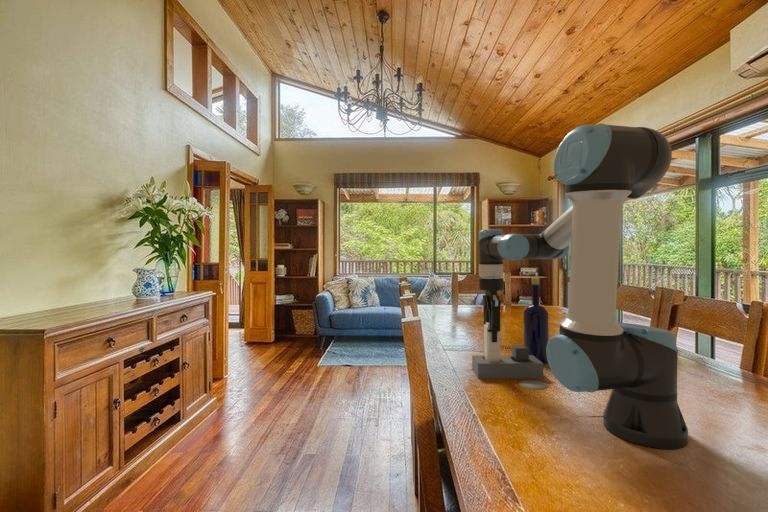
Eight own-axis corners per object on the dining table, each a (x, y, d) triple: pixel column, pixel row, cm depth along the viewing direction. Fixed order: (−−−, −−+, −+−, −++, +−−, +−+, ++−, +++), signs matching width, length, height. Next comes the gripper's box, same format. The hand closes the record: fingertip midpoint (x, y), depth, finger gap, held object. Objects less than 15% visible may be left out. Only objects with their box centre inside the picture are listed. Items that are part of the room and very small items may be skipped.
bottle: (554, 364, 128) (554, 278, 127) (528, 364, 128) (527, 278, 127) (543, 357, 137) (543, 276, 136) (519, 357, 137) (518, 277, 137)
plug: (487, 364, 116) (486, 324, 116) (484, 360, 120) (484, 322, 120) (500, 364, 116) (499, 324, 116) (496, 360, 120) (496, 321, 120)
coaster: (553, 391, 104) (553, 389, 104) (524, 391, 104) (524, 389, 104) (542, 381, 112) (542, 379, 112) (515, 381, 112) (515, 379, 112)
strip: (543, 379, 113) (543, 350, 113) (478, 379, 114) (477, 350, 114) (531, 369, 123) (531, 342, 123) (471, 369, 124) (471, 342, 124)
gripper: (510, 279, 109) (511, 357, 109) (495, 275, 126) (496, 343, 127) (485, 279, 109) (486, 357, 110) (473, 275, 126) (474, 343, 127)
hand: (491, 349), depth 118 cm, fingers closed on plug, 4 cm apart
